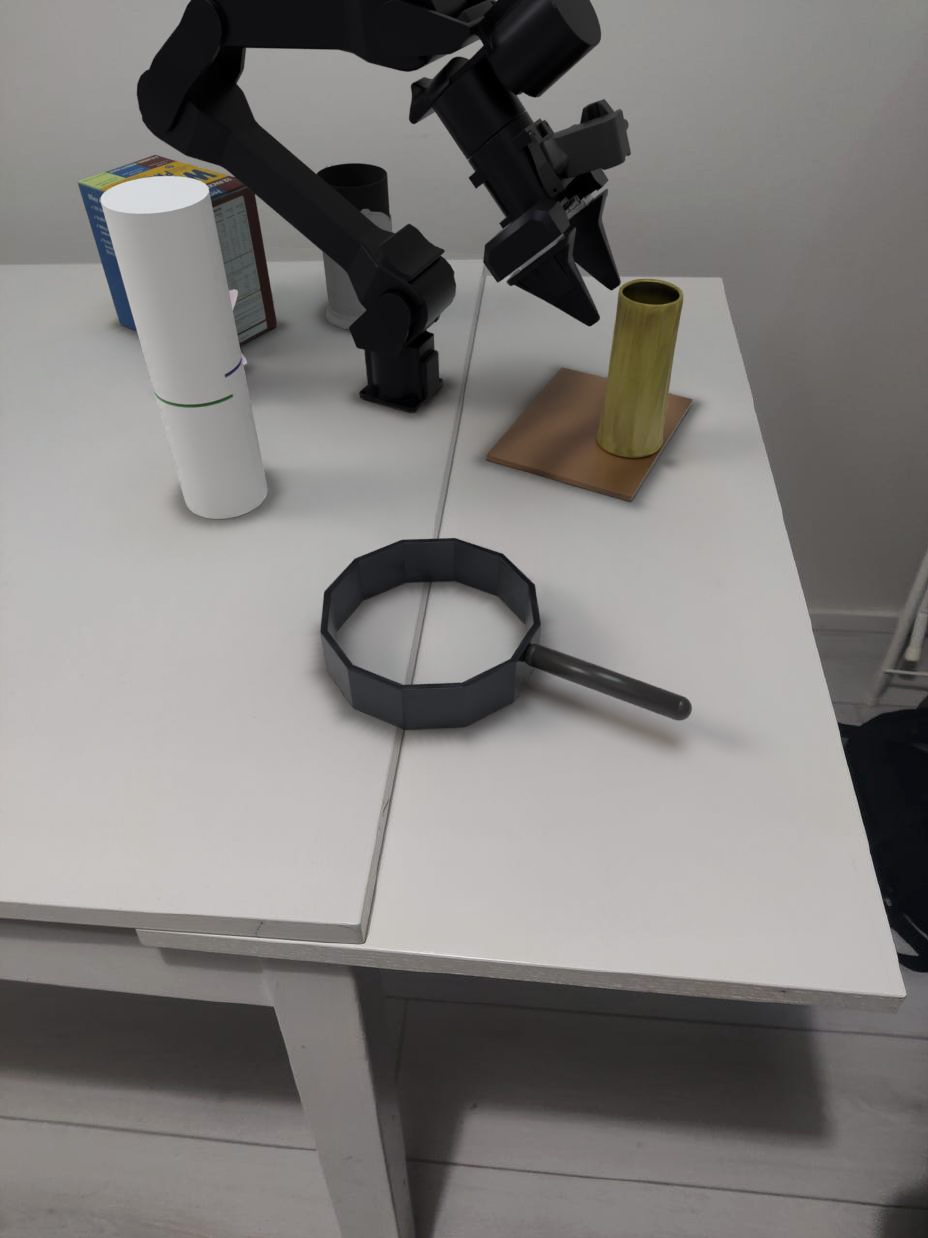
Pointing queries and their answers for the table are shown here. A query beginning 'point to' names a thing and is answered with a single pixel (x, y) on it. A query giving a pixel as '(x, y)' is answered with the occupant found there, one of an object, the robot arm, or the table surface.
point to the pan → (486, 689)
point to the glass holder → (371, 198)
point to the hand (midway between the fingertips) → (606, 304)
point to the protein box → (234, 233)
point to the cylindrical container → (188, 339)
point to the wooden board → (577, 438)
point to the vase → (640, 368)
